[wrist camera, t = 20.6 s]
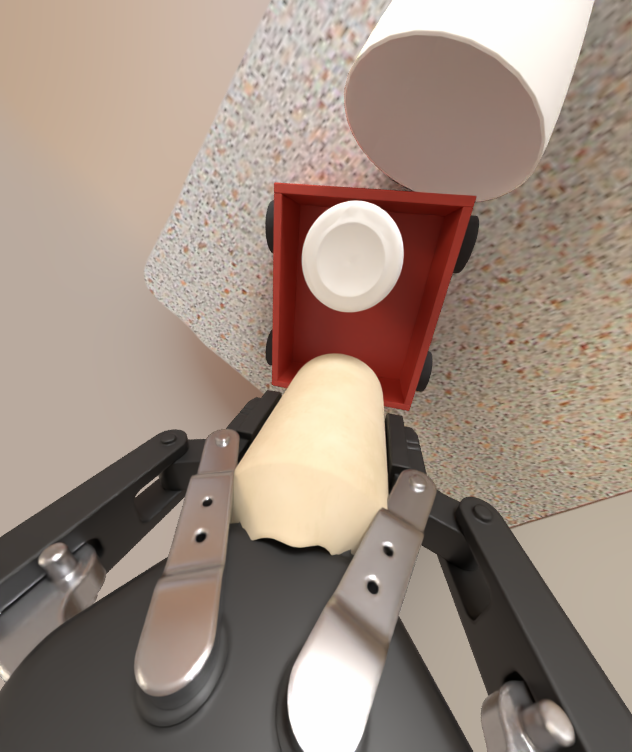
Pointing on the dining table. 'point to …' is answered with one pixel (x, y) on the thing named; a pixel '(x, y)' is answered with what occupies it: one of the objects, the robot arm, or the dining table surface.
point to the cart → (387, 318)
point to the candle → (317, 460)
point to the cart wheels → (460, 264)
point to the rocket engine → (464, 90)
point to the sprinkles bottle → (352, 256)
